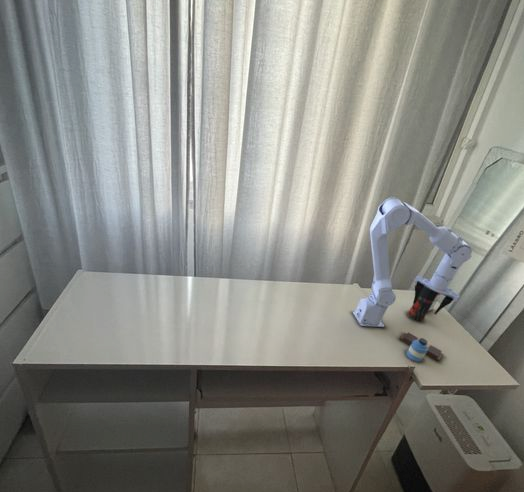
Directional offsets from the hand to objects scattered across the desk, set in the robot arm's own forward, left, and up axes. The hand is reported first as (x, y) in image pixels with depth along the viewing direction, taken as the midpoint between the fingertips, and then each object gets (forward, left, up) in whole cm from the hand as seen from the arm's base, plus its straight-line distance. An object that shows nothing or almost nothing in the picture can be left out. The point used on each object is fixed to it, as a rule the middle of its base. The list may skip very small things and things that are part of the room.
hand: (425, 307), depth 113 cm
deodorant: (+6, +8, -10) cm, 14 cm away
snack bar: (-3, -10, -10) cm, 14 cm away
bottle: (-8, -14, -10) cm, 19 cm away
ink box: (+14, +14, -10) cm, 22 cm away
